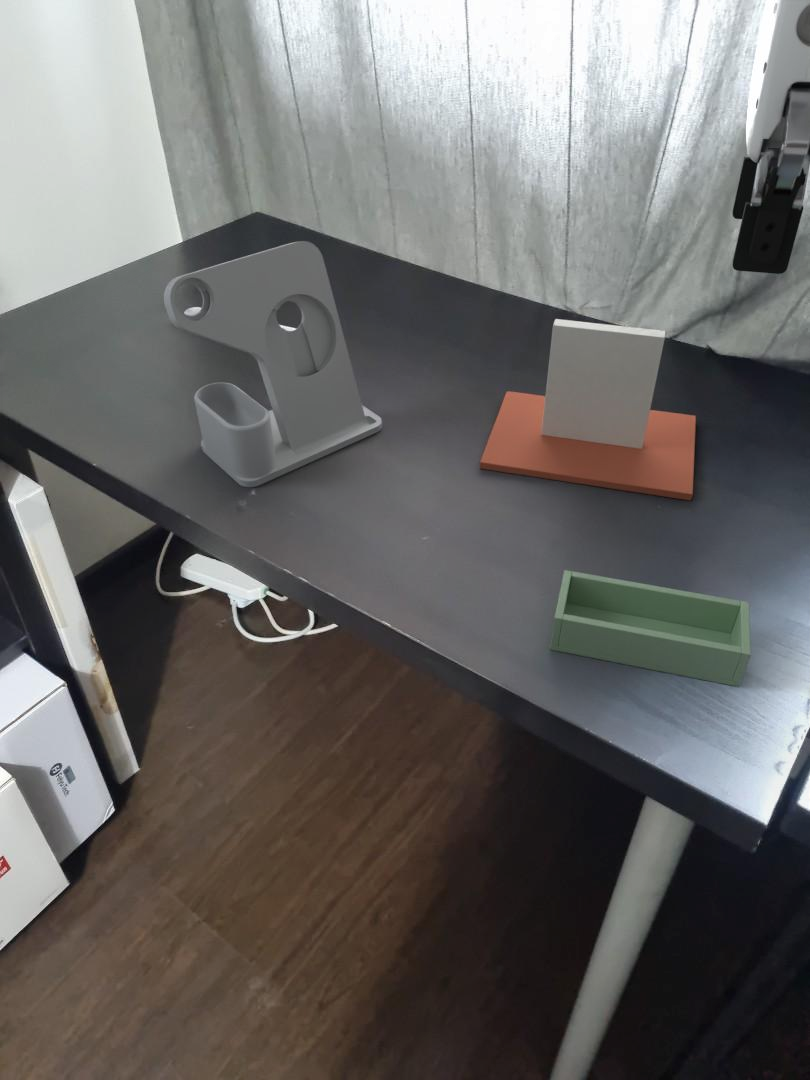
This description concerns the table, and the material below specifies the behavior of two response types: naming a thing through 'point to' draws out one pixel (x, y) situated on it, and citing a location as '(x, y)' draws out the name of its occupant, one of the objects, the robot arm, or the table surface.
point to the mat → (593, 452)
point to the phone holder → (274, 364)
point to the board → (601, 382)
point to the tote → (652, 627)
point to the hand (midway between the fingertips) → (756, 242)
